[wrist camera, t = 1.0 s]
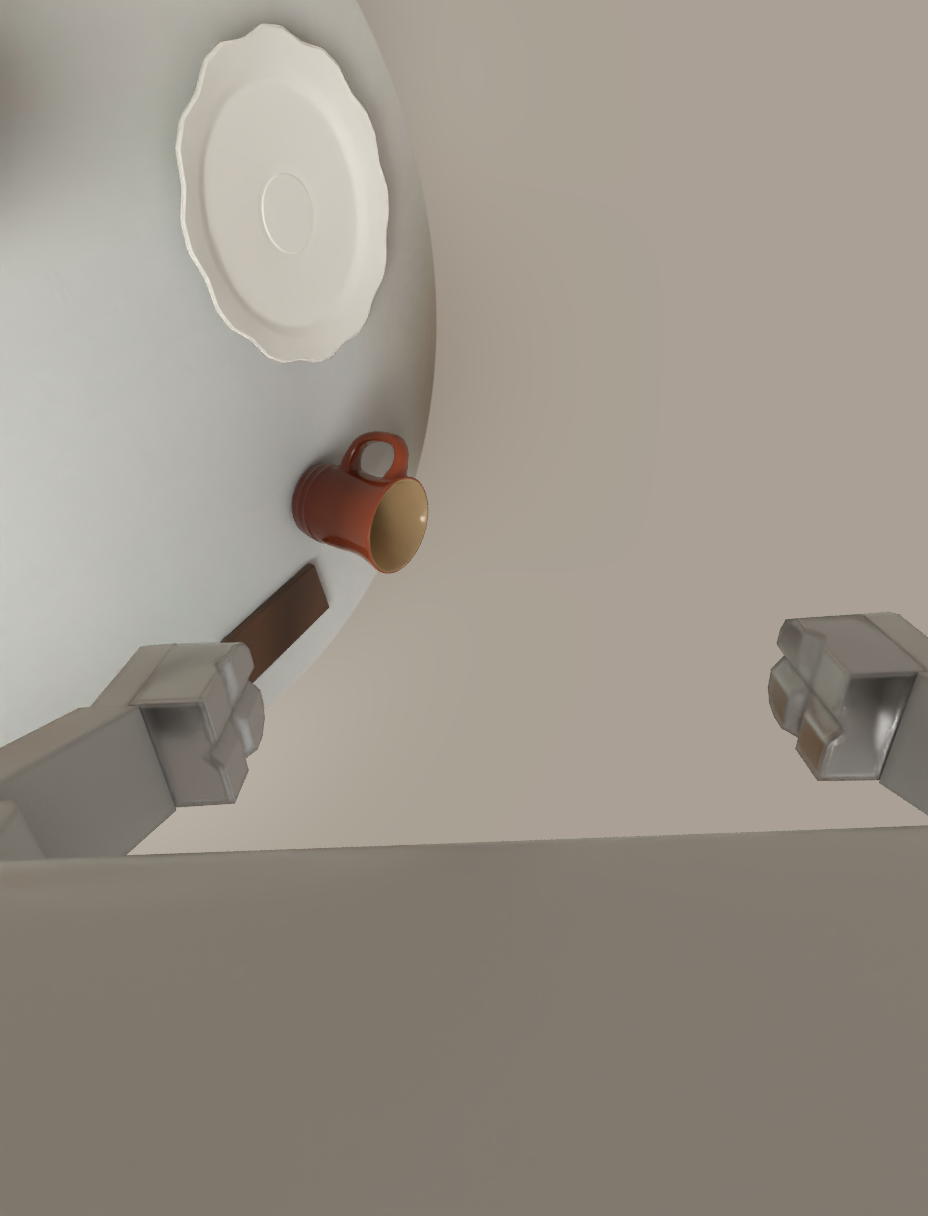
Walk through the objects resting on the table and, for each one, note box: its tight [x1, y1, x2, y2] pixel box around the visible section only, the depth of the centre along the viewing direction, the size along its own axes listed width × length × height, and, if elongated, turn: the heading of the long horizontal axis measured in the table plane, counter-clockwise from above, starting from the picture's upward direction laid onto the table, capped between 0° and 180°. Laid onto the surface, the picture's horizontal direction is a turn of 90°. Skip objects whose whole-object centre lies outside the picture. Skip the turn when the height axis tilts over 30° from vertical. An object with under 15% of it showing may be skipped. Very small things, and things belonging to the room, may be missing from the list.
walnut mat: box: [220, 563, 329, 683], centre depth 62 cm, size 12×6×1 cm, turn 100°
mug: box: [292, 431, 428, 573], centre depth 58 cm, size 12×9×10 cm
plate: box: [175, 24, 390, 363], centre depth 48 cm, size 21×21×2 cm
